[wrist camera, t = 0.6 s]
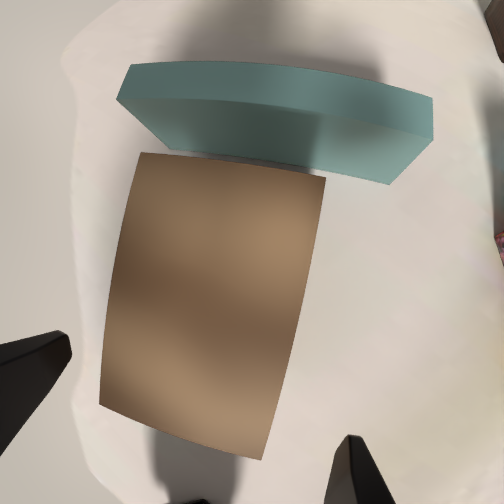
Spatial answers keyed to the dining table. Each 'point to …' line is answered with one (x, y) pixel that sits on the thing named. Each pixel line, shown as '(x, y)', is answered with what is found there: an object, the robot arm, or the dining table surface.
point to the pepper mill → (496, 25)
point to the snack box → (500, 244)
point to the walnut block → (208, 297)
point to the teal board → (281, 115)
